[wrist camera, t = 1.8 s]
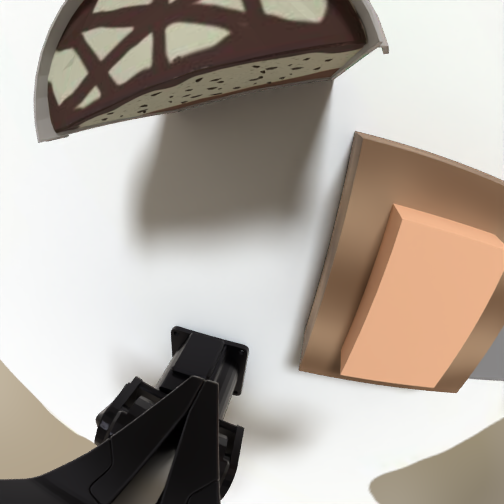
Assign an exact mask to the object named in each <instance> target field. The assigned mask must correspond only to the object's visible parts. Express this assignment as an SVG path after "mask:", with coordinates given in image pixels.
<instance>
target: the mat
mask: <svg viewBox="0 0 504 504" xmlns="http://www.w3.org/2000/svg"><path fill="white" fill-rule="evenodd" d="M469 378H472V379H485V380H501V381H504V326H503V328H502V329H501V331H500V332H499V334H498V336H497V337H496V339H495V340H494V342H493V344H492V345H491V347H490V348H489V350H488V351H487V353H486V354H485V355H484V357H483V358H482V360H481V361H480V363H479V364H478V365H477V367H476V368H475V370H474V371H473V372H472V374H471V375H470V376H469Z"/></svg>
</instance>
